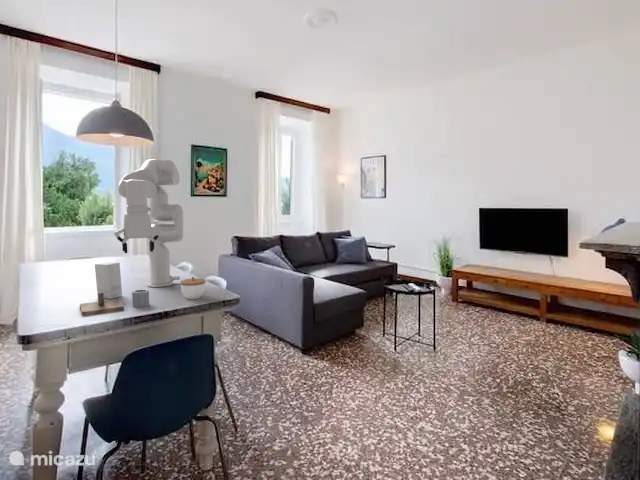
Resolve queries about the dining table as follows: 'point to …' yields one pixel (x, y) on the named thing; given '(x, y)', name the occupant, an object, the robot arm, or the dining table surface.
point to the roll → (140, 298)
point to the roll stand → (101, 306)
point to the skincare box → (108, 279)
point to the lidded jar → (193, 288)
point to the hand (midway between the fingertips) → (138, 252)
